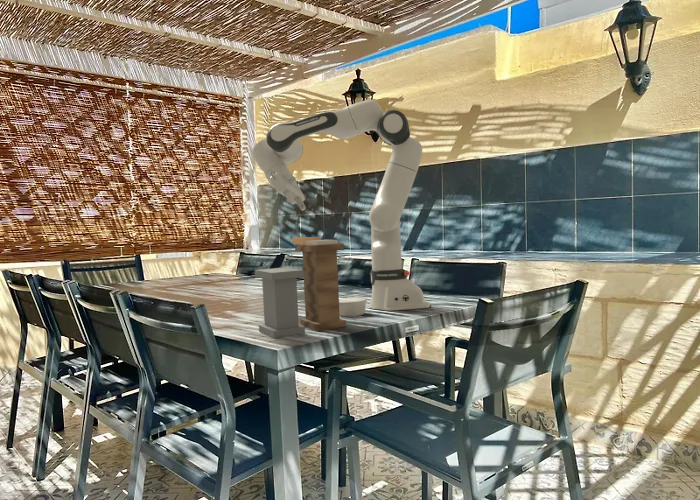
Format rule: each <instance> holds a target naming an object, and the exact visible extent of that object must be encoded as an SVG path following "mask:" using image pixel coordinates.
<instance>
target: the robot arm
mask: <svg viewBox="0 0 700 500" xmlns="http://www.w3.org/2000/svg"><path fill="white" fill-rule="evenodd" d="M370 131H373V132H375V134H376V135H377V136H378V137H379V138H380V140H381V141H382V142H383V143H384V144H386V145H387V146H388V145H389V146H391V148H392V150H391V151H392V152H391V155H390V157H389V161H388V163H387V165H386V169H385V172H384V175H383V177H382V181H381V183H380V186H379V188H378V190H377V193H376V195H375V197H374V201H373V203H372V206H371V209H370V211H369V214H368V220H369V223H370V229H371V230H370V234H371V235H370V236H371V238H370V239H371V240H370V241H371V242H370V243H371V244H370V245H371V247H370V248H371V250H370V251H371V270H370V283H371V287H372V288H371V297H370V298H371V299H370V303H369V308H370V309H374V310H382V311H401V310H402V311H403V310H404V311H405V310H415V309H427V308H430V306H431V303H430V302H429V301H428V300H426V299H425V298H424V297H425V296H424V293H423V290H422V289H421V287H420V286H418V285H417V284H415V283H414V282H413V281H411V280H410V279H408V276H409V275H410V271H409V270H408V269H407V270H406V269H404V268H403V267H402V243H401V241H402V240H401V239H402V238H401V237H402V236H401V217H402V215H403V213H404V209H405V206H406V203H407V201H408V198H409V196H410V193H411V190H412V187H413V185H414V182H415V179H416V177H417V174H418V170H419V167H420V164H421V159H422V153H423V145H422V144H421V142H420V141H418V140H417V139H415V138H412V137H411V132H410V126H409V121H408V118H407V117H406V115H405V114H404V113H403V112H402V111H400V110H397V109H390V110H386V111H385V112H384V111H383V109H382V106H381V105H380V103H378V101H376V100H374V99H366V100H363V101H358V102H356V103H353V104H350V105H348V106H345V107H342V108H339V109H337V110H336V109H335V110H332V111H324V112H321V113H317V114H316V113H315V114H313V115H311V116H307V117H304V118H301V119H298V120H293V121H289V122H277V123H275V124H273V125H272V126H271V127H270V128H269V129H268V130H267V133H266V137H265V138H261V139H260V140H258V141H257V142H256V143H255V144H254V146H253V148H252V155H253V158H254V160H255V162H256V164H257V166H258V167H259V169H260V170H261V171H263V173H264V176H265V178H266V180H267V181H268V183H269V185H270V186H271V187H272V189H275V190H276V191H277V193H279V194H280V195H282V196H283V197H285V198H286V199H287V200H288V202H289V203H290V204H291V205H296V204H297V206H298V208H299V209H300V211H305V210H306V209H307V207H306V205H305V204H304V201H305V200H306V197H305V195H304V193H303V192H302V190H301V188H300V186H299V185H298V184H297V183H298V181H297V180H298V179H296V177H295V176H294V175H293V173H292V171H291V169H290V168H289V167H288V166H289V165H291V164H292V163H295V162H297V161H298V160H299V159H300V158H301V157H302V156H303V154H304V147H303V144H302V142H301V141H300V139H302V138H305V137H309V136H313V135H315V134H319V133H322V134H323V133H324V134H328V135H330V136H333V137H335V138H336V139H339V140H348V139H351V138H355V137H356V136H359V135H361V134H364V133H366V132H370Z"/></svg>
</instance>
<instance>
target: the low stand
mask: <svg viewBox="0 0 700 500" xmlns="http://www.w3.org/2000/svg"><path fill="white" fill-rule="evenodd" d="M254 276H255V277H256V278H261V279H262V280H261V281H262V283H261V284H262V299H263V300H262V301H263V302H262V303H263V316H264V317H263V318H264V319H263V320H264V321H263V322H264V324H263V323H262V324H259V325H258V331H259V332H260V333H262V334H264V335H266V336H268V337H271V338H273V339H274V338H275V339H276V338H283V337H289V336H297V335H301V334H306V327H305V326H302V325H301V324H299V322H300V320H299V307H298V306H299V303H298V283H297V282H298V281H297V280H298V279H297V278H304V271H303V269H300V268H299V269H298V268H292V267H286V266H285V267H284V266H283V267H275V268H274V267H273V268H263V269H254Z"/></svg>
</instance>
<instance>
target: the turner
mask: <svg viewBox="0 0 700 500" xmlns="http://www.w3.org/2000/svg"><path fill="white" fill-rule="evenodd" d="M291 239H292V241H291V242H292V244H294V245H298V244H306V245H327V244H338V243H339V241H338V239H321V237H313V236H308V237H306V236H305V237H304V236H299V237H297V236H295V237H291Z"/></svg>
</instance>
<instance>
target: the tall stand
mask: <svg viewBox="0 0 700 500" xmlns="http://www.w3.org/2000/svg"><path fill="white" fill-rule="evenodd" d="M344 244H345V243H339V242H338V244H327V245H306V244H294V247H295V248H294V249H295V252H302V270H303V271H304V277H303V289H304V290H303V291H304V309H305V310H304V311H305V318H299V319H300V320H299V322H300V324H299V325H302V326H305V329H306V328H307V329H309V330H313V331H316V332H321V331H326V330H327V331H328V330H334V329H341V328H347V324H346V319H342V318H341V316H340V313H339V299H340V298H339V293H340V291H339V273H338V270H339V269H338V255H337V254H338V253H337V252H338V251H344V250H345V245H344ZM340 327H341V328H340Z"/></svg>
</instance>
